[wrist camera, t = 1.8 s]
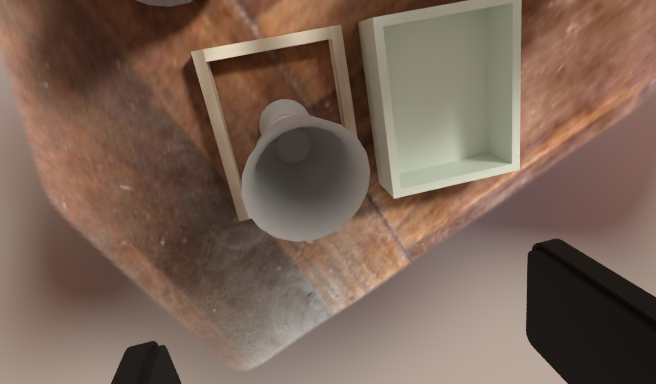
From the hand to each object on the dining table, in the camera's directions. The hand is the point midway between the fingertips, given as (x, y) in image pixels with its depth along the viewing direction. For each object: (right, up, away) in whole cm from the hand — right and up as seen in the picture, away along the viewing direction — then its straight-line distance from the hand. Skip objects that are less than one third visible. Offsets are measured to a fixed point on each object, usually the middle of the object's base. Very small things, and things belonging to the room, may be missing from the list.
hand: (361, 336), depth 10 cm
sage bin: (+10, +13, +29) cm, 34 cm away
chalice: (-5, +10, +28) cm, 30 cm away
